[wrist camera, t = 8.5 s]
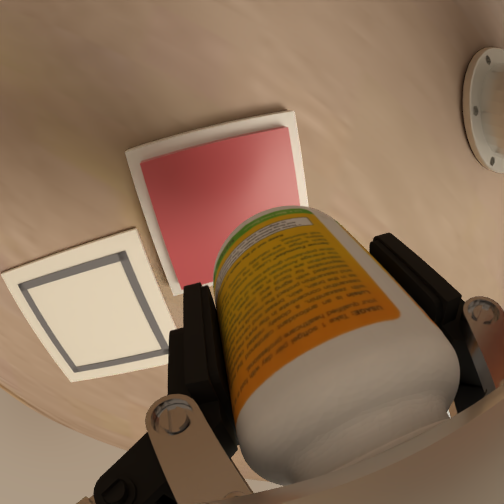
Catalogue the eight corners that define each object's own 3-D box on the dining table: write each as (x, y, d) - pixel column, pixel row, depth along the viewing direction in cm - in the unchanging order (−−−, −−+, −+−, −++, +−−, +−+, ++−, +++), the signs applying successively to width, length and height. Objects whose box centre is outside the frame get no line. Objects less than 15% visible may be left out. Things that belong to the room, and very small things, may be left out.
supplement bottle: (193, 309, 12) (221, 577, 4) (244, 179, 10) (422, 503, 2) (310, 333, 14) (400, 533, 5) (371, 229, 12) (551, 420, 3)
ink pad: (288, 110, 18) (299, 111, 16) (308, 249, 23) (318, 262, 21) (128, 149, 17) (122, 154, 16) (173, 286, 22) (173, 303, 20)
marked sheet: (136, 227, 20) (135, 229, 19) (189, 356, 25) (190, 359, 25) (2, 272, 18) (0, 275, 18) (71, 379, 24) (70, 382, 24)
